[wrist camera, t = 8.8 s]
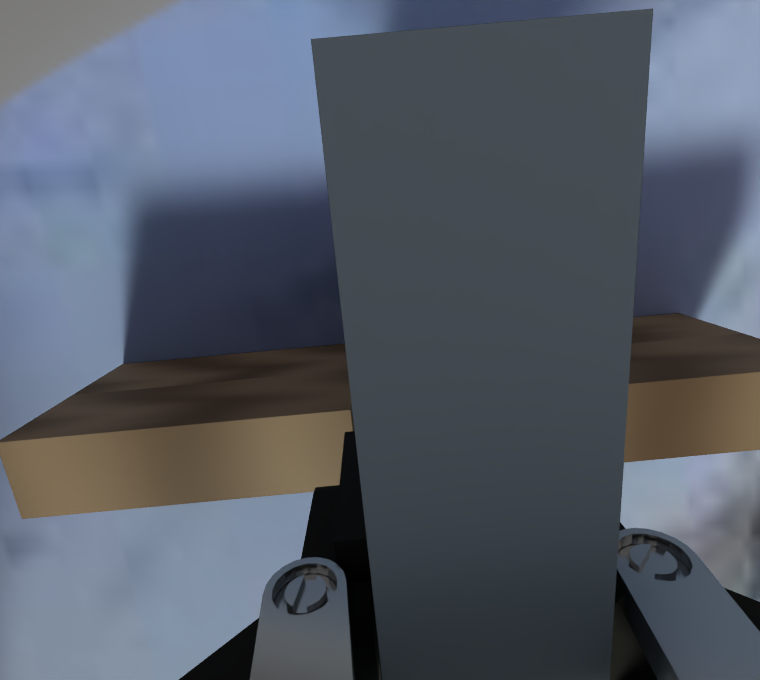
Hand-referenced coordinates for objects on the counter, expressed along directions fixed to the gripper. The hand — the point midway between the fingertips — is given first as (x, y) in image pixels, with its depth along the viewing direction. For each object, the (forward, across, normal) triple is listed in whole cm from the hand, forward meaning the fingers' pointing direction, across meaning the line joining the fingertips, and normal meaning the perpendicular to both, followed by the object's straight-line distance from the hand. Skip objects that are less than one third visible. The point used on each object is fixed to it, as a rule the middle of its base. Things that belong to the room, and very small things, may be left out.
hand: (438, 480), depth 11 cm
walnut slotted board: (+9, 0, 0) cm, 9 cm away
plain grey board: (+7, 0, 0) cm, 7 cm away
